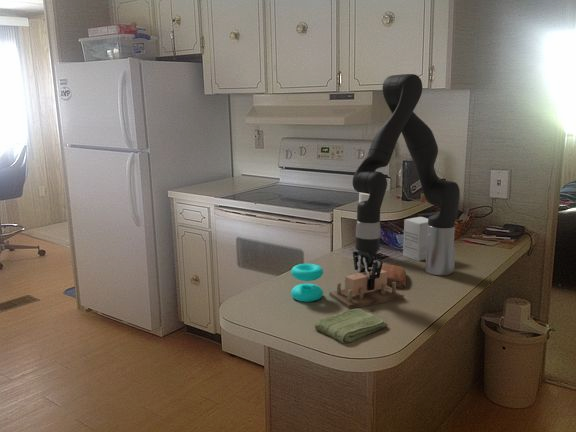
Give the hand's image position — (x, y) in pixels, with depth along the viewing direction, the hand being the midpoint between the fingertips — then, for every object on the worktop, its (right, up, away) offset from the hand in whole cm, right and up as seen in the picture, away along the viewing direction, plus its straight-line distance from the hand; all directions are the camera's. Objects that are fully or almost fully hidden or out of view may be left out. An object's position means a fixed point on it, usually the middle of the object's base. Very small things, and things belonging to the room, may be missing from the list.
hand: (366, 287), depth 171 cm
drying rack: (0, -3, +1) cm, 3 cm away
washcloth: (-7, -9, -22) cm, 25 cm away
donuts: (-19, -4, +1) cm, 19 cm away
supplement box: (+27, +6, +43) cm, 51 cm away
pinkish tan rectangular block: (0, -1, 0) cm, 1 cm away
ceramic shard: (+8, 0, +17) cm, 19 cm away
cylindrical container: (+7, +7, +46) cm, 47 cm away
